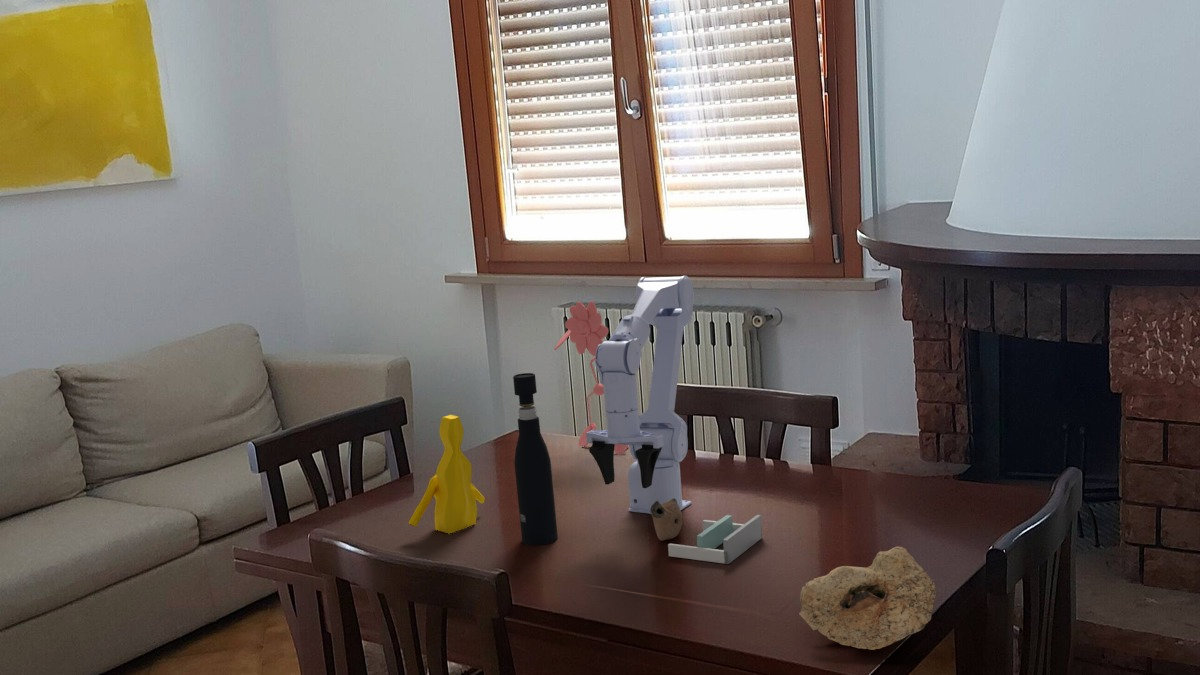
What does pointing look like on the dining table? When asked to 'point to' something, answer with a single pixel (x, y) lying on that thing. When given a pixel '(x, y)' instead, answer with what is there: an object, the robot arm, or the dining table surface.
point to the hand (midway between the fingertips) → (628, 484)
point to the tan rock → (870, 601)
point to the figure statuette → (451, 484)
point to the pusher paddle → (715, 533)
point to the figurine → (587, 335)
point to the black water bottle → (533, 470)
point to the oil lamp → (666, 519)
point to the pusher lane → (732, 544)
